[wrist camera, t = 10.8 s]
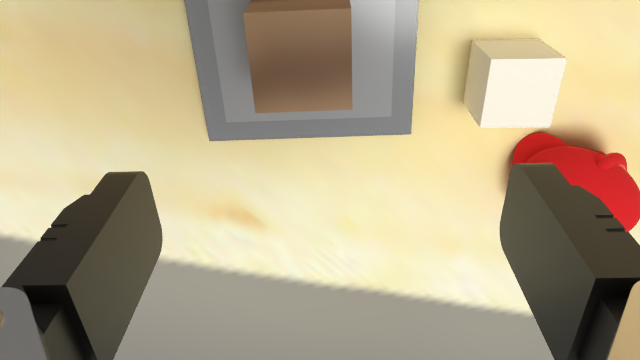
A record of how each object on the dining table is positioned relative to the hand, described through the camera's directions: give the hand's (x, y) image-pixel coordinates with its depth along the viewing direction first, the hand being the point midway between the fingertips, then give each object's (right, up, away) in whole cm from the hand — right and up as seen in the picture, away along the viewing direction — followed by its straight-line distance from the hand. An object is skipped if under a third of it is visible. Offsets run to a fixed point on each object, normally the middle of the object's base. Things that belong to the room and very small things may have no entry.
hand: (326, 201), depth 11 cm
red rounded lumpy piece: (+16, +1, +23) cm, 28 cm away
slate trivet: (-1, +9, +18) cm, 20 cm away
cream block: (+11, +7, +19) cm, 23 cm away
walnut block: (-1, +9, +17) cm, 19 cm away
